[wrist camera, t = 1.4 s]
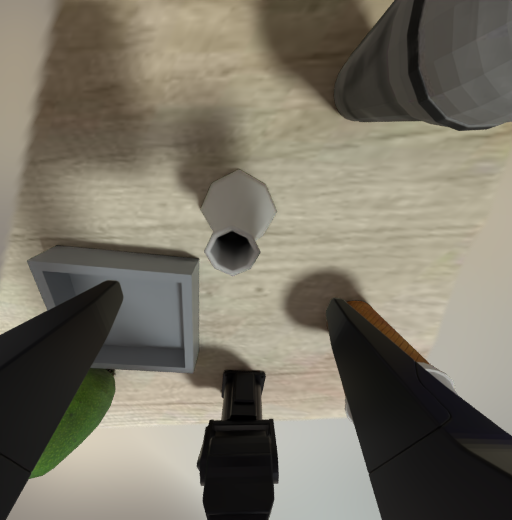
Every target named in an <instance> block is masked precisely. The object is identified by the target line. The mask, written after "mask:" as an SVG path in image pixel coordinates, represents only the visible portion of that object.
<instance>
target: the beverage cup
mask: <svg viewBox="0 0 512 520" xmlns="http://www.w3.org/2000/svg"><path fill="white" fill-rule="evenodd" d="M334 99H335V105H336V107H337V109H338V111H339V113H340V114H341V115H342V116H343V117H344V118H346V119H348V120H351V121H359V122H392V121H424V122H427V123H429V124H434V125H440V126H445V127H450V128H453V129H455V130H458V131H466V130H484V129H489V128H492V127H495V126H498V125H500V124H503V123H506V122H512V0H395V1H394V2H393V3H392V4H391V6H390V7H389V8H388V9H387V11H386V12H385V13H384V14H383V16H382V17H381V18H380V19H379V21H378V22H377V23H376V24H375V26H374V27H373V28H372V29H371V31H370V32H369V33H368V34H367V35H366V37H365V38H364V39H363V40H362V42H361V43H360V44H359V45H358V47H357V48H356V49H355V50H354V52H353V53H352V54H351V56H350V57H349V59H348V60H347V62H346V63H345V65H344V66H343V68H342V69H341V71H340V72H339V74H338V77H337V80H336V83H335V89H334Z"/></svg>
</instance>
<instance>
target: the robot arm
mask: <svg viewBox="0 0 512 520" xmlns="http://www.w3.org/2000/svg"><path fill="white" fill-rule="evenodd" d="M123 298H124V297H123V292H122V289H121V285H120V283H119V281H116V280H106V281H104V282H102V283H100V284H98V285H96V286H94V287H92V288H90V289H88V290H86V291H85V292H83V293H81V294H79V295H77V296H75V297H73V298H71V299H69V300H67V301H65V302H63V303H61V304H59V305H57V306H55V307H54V308H52V309H50V310H48V311H46V312H44V313H42V314H40V315H38V316H36V317H34V318H32V319H30V320H28V321H26V322H24V323H22V324H21V325H19V326H17V327H15V328H13V329H11V330H9V331H7V332H5V333H3V334H1V335H0V520H6V519H7V517H8V515H9V513H10V511H11V509H12V508H13V506H14V504H15V502H16V501H17V499H18V497H19V495H20V493H21V491H22V490H23V488H24V486H25V484H26V483H27V481H28V479H29V477H30V476H31V472H32V471H33V470H34V468H35V466H36V464H37V463H38V461H39V459H40V457H41V455H42V454H43V452H44V450H45V448H46V446H47V445H48V443H49V441H50V439H51V437H52V436H53V434H54V432H55V430H56V428H57V427H58V425H59V423H60V421H61V420H62V418H63V416H64V414H65V412H66V411H67V409H68V407H69V405H70V403H71V402H72V400H73V398H74V396H75V394H76V393H77V391H78V389H79V387H80V385H81V384H82V382H83V380H84V378H85V376H86V375H87V373H88V371H89V369H90V367H91V366H92V364H93V362H94V360H95V358H96V357H97V355H98V353H99V351H100V350H101V348H102V346H103V344H104V342H105V341H106V339H107V337H108V335H109V333H110V330H111V328H112V326H113V323H114V321H115V319H116V316H117V314H118V312H119V309H120V307H121V304H122V302H123ZM326 319H327V324H328V330H329V336H330V341H331V346H332V350H333V354H334V357H335V361H336V364H337V368H338V371H339V374H340V378H341V381H342V385H343V388H344V391H345V395H346V398H347V402H348V405H349V409H350V412H351V415H352V419H353V422H354V425H355V429H356V432H357V436H358V439H359V442H360V446H361V449H362V453H363V456H364V460H365V462H366V466H367V470H368V472H369V477H370V481H371V484H372V487H373V491H374V494H375V498H376V501H377V504H378V508H379V511H380V514H381V518H382V520H512V436H511V435H510V434H508V433H506V432H505V431H504V430H503V429H501V428H500V427H498V426H497V425H496V424H495V423H493V422H492V421H491V420H490V419H488V418H487V417H486V416H484V415H483V414H482V413H480V412H479V411H478V410H476V409H475V408H473V407H472V406H471V405H470V404H469V403H467V402H466V401H465V400H463V399H462V398H461V397H459V396H458V395H457V394H455V393H454V392H453V391H452V390H450V389H449V388H448V387H447V386H445V385H444V384H443V383H441V382H440V381H439V380H438V379H437V378H435V377H434V376H433V375H432V374H430V373H429V372H428V371H427V370H426V369H424V368H423V367H422V366H421V365H420V364H419V363H417V362H416V361H414V359H413V358H411V357H410V356H409V355H408V354H407V353H406V352H404V351H403V350H402V349H401V348H400V347H399V346H397V345H396V344H395V343H394V342H393V341H391V340H390V339H389V338H388V337H387V336H386V335H384V334H383V333H382V332H381V331H380V330H379V329H377V328H376V327H375V326H374V325H373V324H371V323H370V322H369V321H368V320H367V319H366V318H364V317H363V316H362V315H361V314H360V313H359V312H357V311H356V310H355V309H354V308H353V307H352V306H350V305H349V304H348V303H347V302H346V301H344V300H343V299H342V298H332V299H331V301H330V303H329V305H328V308H327V310H326ZM265 377H266V376H265V373H263V372H245V371H224V373H223V384H222V398H224V400H223V409H222V419H221V420H215V421H214V420H210V421H209V425H208V426H207V427H206V429H205V435H204V440H203V445H202V448H201V451H200V454H199V457H198V461H197V468H198V469H199V471H200V484H201V486H204V492H203V505H204V509H205V513H206V516H207V520H269V517H270V514H271V510H272V506H273V502H274V484H278V478H279V472H278V454H277V446H276V438H275V430H274V422H273V419H269V420H262V401H261V395H262V391H263V386H264V382H265Z"/></svg>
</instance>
